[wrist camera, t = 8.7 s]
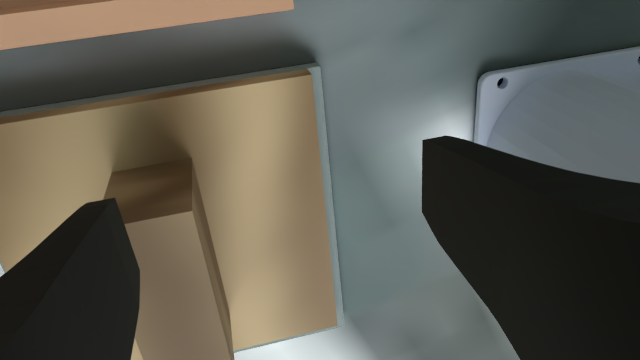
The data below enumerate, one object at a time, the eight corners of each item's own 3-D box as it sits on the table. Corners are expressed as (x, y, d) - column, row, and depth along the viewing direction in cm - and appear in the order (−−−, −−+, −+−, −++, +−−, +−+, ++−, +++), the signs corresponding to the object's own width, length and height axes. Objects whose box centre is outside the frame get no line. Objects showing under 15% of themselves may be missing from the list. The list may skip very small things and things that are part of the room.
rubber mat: (317, 62, 20) (320, 66, 19) (341, 318, 27) (344, 326, 26) (-62, 121, 18) (-70, 127, 17) (69, 382, 25) (66, 392, 24)
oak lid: (307, 69, 19) (339, 110, 15) (333, 314, 26) (361, 391, 22) (-55, 126, 17) (-131, 191, 13) (70, 377, 24) (45, 474, 20)
